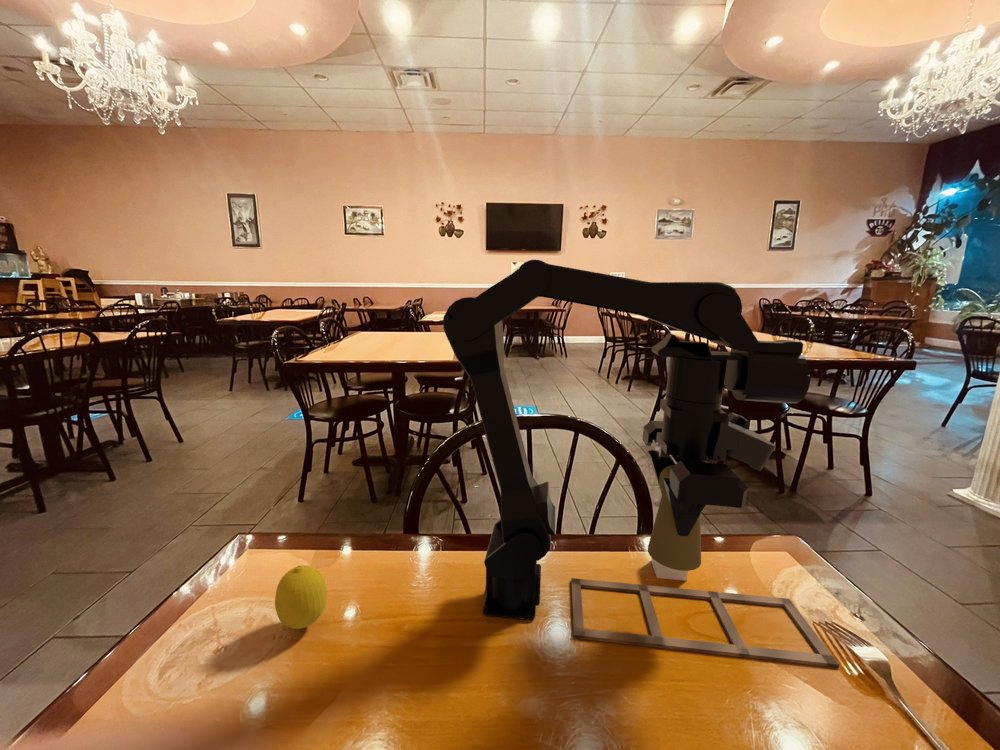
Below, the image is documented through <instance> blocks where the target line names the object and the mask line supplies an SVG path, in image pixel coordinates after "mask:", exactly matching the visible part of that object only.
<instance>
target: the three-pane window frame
mask: <svg viewBox="0 0 1000 750" xmlns="http://www.w3.org/2000/svg"><path fill="white" fill-rule="evenodd" d="M570 580H571V583H570V584H571V602H572V603H571V605H572V607H571V608H572V624H573V625H572V626H573V628H572V629H573V638H574V639H579V640H587V641H588V640H589V641H597V642H604V643H605V642H606V643H607V642H608V643H616V644H622V645H623V644H625V645H631V646H632V645H633V646H641V647H642V646H643V647H650V648H651V647H652V648H659V649H670V650H675V651H676V650H677V651H685V652H695V653H703V654H713V655H719V656H720V655H721V656H731V657H739V658H748V659H756V660H758V659H759V660H766V661H774V662H785V663H791V664H792V663H793V664H801V665H808V666H809V665H811V666H818V667H819V666H820V667H828V668H836V669H837V668H838V669H839V668H840V664H839V662H838V661H837V659H836V658H835V657H834V656H833V654H832V653H831V652H830V650H829V649H828V648H827V647H826V645H825V644H824V642H823V641H822V640H821V638H820V637H819V636H818V634H817V633H816V632H815V630H814V629H813V628H812V627H811V625H810V623H808V621H807V620H806V618H805V617H804V616H803V615H802V614H801V612H800V611H799V609H798V608H797V607H796V606H795V604H794V603H793V602H792V600H791V598H788V597H787V598H786V597H777V596H763V595H755V594H743V593H731V592H723V591H711V590H702V589H701V590H700V589H690V588H680V587H678V588H677V587H671V586H670V587H668V586H659V585H647V584H638V583H637V584H636V583H628V582H627V583H626V582H617V581H606V580H597V579H596V580H593V579H585V578H575V577H572V578H571V579H570ZM582 588H585V589H593V590H605V591H606V590H607V591H616V592H626V593H635V594H639V596H640V600H641V605H642V607H643V610H644V615H645V619H646V623H647V626H648V630H649V632H650V633H649V635H648V634H639V633H632V632H631V633H629V632H621V631H612V630H604V629H594V628H586V627H585V625H584V613H583V611H584V610H583V601H582V599H583V598H582ZM651 595H656V596H666V597H677V598H687V599H697V600H699V599H700V600H707V601H708V600H709V601H710V602H711V604H712V606H713V609H714V610H715V613H716V615H717V617H718V619H719V621H720V623H721V624H722V627H723V628H724V629H723V630H725V633H726V635H727V637H728V639H729V640H730V642H731V644H730V643H723V642H722V643H720V642H715V641H714V642H713V641H702V640H695V639H694V640H693V639H685V638H684V639H683V638H676V637H667V636H663V633H662V630H661V626H660V623H659V619H658V617H657V613H656V610H655V607H654V603H653V600H652V597H651ZM723 602H729V603H736V604H737V603H740V604H741V603H742V604H749V605H759V606H769V607H779V608H783V609H784V610H785V611H786V612H787V614H788V615H789V617H790V618H791V619H792V620H793V622H794V624H796V627H797V628H798V629H799V630H800V632H801V633H802V634H803V636H804V637H805V639H806V640H807V641H808V643H809V644H810V646H811V647H812V648H813V650H814V651H815V652H816V653H815V652H804V651H803V652H802V651H794V650H786V649H776V648H768V647H759V646H757V647H756V646H751V645H749V646H748V645H746V644H745V642H744V640H743V638H742V637H741V635H740V633H739V631H738V629H737V628H736V626H735V623H734V622H733V620H732V618H731V616H730V614H729V612H728V610H727V609H726V607H725V605H724V603H723Z"/></svg>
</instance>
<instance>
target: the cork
mask: <svg viewBox="0 0 1000 750" xmlns="http://www.w3.org/2000/svg"><path fill="white" fill-rule="evenodd" d="M673 466H674V465H671V466H668V467H666V468H665V469H664V470H663V471H662V472H661V474H660V477H659V485H658V486H660V488H659V490H660V489H661V491H662V494H661V498H660V501H659V505H658V508H657V512H656V516H655V520H654V523H653V527H652V531H651V535H650V538H649V542H648V546H647V552H648V555H649V556H650V558H651V559H652V558H653V559H654V560H655V561H656V562H658V563H660V564H661V565H663V566H666V567H668V568H671V569H675V570H681V571H688V572H690V571H694V570H697V569H698V568H700V567H701V564H702V531H701V530H702V528H701V526H702V523H701V515H700V516H699V518H698V519H697V521H696V523H695V525H694V527H693V528H692V530H691V532H690V534H689V535H688V536H679V535H678V533H677V530H676V526H675V523H674V519H673V515H672V511H671V507H670V503H669V500H668V496H667V492H666V488H665V485H664V481H663V478H670V469H671V467H673ZM661 491H660V492H661Z"/></svg>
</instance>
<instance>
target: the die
mask: <svg viewBox="0 0 1000 750" xmlns="http://www.w3.org/2000/svg"><path fill="white" fill-rule="evenodd" d="M650 561H651V563H652V567H653V570H654V573H655V576H656V578H657V579H664V580H665V579H666V580H675V581H684V582H686V581H688V573H689V571H681V570H675V569H671V568H668V567H666V566H663V565H661V564H660V563H658V562H656V561H655V560H654V559H653V558H652V557H651V560H650Z"/></svg>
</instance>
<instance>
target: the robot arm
mask: <svg viewBox="0 0 1000 750" xmlns="http://www.w3.org/2000/svg"><path fill="white" fill-rule="evenodd" d="M537 298H547V299H552V300H557V301H563V302H569V303H573V304H579V305H582V306H583V305H584V306H590V307H595V308H600V309H605V310H611V311H617V312H622V313H627V314H632V315H638V316H640V317H642V318H646V319H648V320H651V321H653V322H656V323H659V324H661V325H664V326H666V327H669V328H672V329H674V330H677V331H680V332H682V333H686V334H688V335H692V336H695V337H698V338H702V339H705V340H708V341H709V342H711V343H713V344H717V345H719V346H722V347H726V348H729V349H730V351H718V350H717V351H715V350H711V348H710V346H709V344H708V343H706V342H705V341H689V340H688V341H687V340H686V341H685V340H679V339H678V338H677V336H676V334H673V333H667V334H666V336H665V337H664V338H663V339H661V340H660V341H659V342H658V343H656V344H655V345H653V346H652V347H651V352H653V353H654V354H655V355H657V356H659V357H663V358H669V363H668V371H667V372H668V373H667V380H666V381H667V382H666V390H665V397H664V398H660V402H659V408H660V409H661V410H662V411H663V418H662V420H650V421H649V422H647V423H646V424H645V425H643V431H642V442H643V444H645V446H647V447H651V446H652V444H653V441H654V443H655V447H654V450H652V449H651V450H648V451H647V454H648V457H649V459H650V462H651V465H652V469H653V471H654V475H655V478H656V481H657V482H656V483H657V484H658V486H659V477H660V474H661V472H662V471H663V470H664V469H665V468H666V467H668V466H671V465H674V466H673V467H671V469H670V478H663V481H664V485H665V488H666V492H667V496H668V500H669V503H670V507H671V511H672V515H673V519H674V523H675V526H676V530H677V533H678V535H679V536H688V535H689V534H690V532H691V530H692V528H693V527H694V525H695V523H696V521H697V519H698V518H699V516H700V517H701V514H702V512H703V511H704V509H705V507H706V506H715V507H716V506H717V507H726V508H736V509H737V508H739V509H742V508H743V507H746V502H747V497H748V489H749V487H748V486H747V485H746V484H745V483H744V482H743V480H741V478H740V477H739V476H738V475H737V474H736V473H735V471H733V470H732V469H731V468H730V467H729V466H728V465H727V464H726V463H715V462H708V459H713V460H715V461H724V462H725V461H726V457H727V456H728V457H730V458H732V459H735V460H737V461H739V462H741V463H745V464H747V465H749V466H750V468H752V469H754V470H757V471H760V472H761V471H762V470H763V468H764V467H765V464H766V463H767V461H768V460H769V458H770V456H771V454H772V453H773V452H774V450H775V448H776V445H775V444H774V443H773V442H770V441H769V440H768V439H767V438H765V437H764V436H762V435H760V434H759V433H757V432H755V431H754V430H752V429H749V420H748V419H746V418H745V417H743V416H742V415H740V414H737V413H735V412H730V413H727V412H726V411H725V410H723V409H722V407H721V406H722V400H723V392H724V387H725V389H726V390H727V391H731V393H732V396H733V397H734V398H735V399H736V400H737V401H745V402H746V401H749V402H761V403H762V402H764V403H780V404H781V403H782V404H795V405H796V404H798V403H800V402H801V401H803V400H804V398H805V397H806V396H807V393H808V391H809V389H810V384H811V380H812V378H811V377H812V376H811V375H810V374H809V373H810V372H809V371H810V370H809V364H808V361H807V359H806V357H805V356H804V354H803V349H804V343H803V342H802V341H797V340H794V339H793V340H792V339H778V340H758V338H757V337H756V335H755V333H754V332H753V330H752V329H751V327H750V326H749V324H748V323H747V321H746V319H745V317H744V316H743V315H742V314H743V313H742V312H743V304H742V299H741V297H740V296H739V294H738V291H737V290H736V289H735V288H734V287H733V286H731V285H729V284H728V283H727V284H726V283H723V282H719V281H718V282H717V281H716V282H715V281H676V282H675V281H674V282H671V281H670V282H665V281H664V282H662V281H661V282H660V281H659V282H657V281H656V282H655V281H646V280H639V279H635V278H628V277H623V276H617V275H612V274H606V273H600V272H595V271H590V270H583V269H578V268H573V267H569V266H568V267H567V266H562V265H555V264H550V263H547V262H545V261H543V260H541V259H529V260H527V261H525V262H524V263H522V264H521V265H520V266H519V268H518V269H516V270H515V271H513V272H512V273H511V274H509V275H508V276H506V277H504V278H503V279H501V280H500V281H498V282H497V283H495V284H493V285H492V286H490V287H488V288H487V289H485V290H484V291H483V292H482V293H480V294H479V295H477V296H469V297H462V298H459V299H456V300H454V302H452V304H451V305H449V306H448V308H447V310H446V312H445V313H444V315H443V318H442V326H443V331H444V334H445V337H446V338H447V341H448V343H449V344H450V347H451V349H452V351H453V354H454V356H455V359H457V361H458V363H459V364H460V365H461V367H462V369H463V370H464V372H465V373H466V375H468V377H469V380H470V382H471V385H472V386H471V387H472V389H473V393H474V398H475V399H476V400H475V401H476V403H477V404H476V405H477V408H478V411H479V416H480V419H481V422H482V425H483V430H484V434H485V437H486V438H485V439H486V441H487V444H488V448H489V453H490V456H491V458H492V459H491V461H492V463H493V468H494V470H495V475H496V478H497V482H498V485H499V490H500V519H499V520H497V521H496V522H495V523H494V525H493V527H492V533H491V536H490V540H489V543H488V546H487V550H486V554H485V557H484V561H483V564H484V566H485V599H484V603H483V606H482V607H483V608H482V614H483V615H485V616H492V617H499V618H500V617H502V618H509V619H510V618H511V619H519V620H530V621H531V620H532V621H533V620H535V618H536V610H537V608H536V607H538V606H540V602H541V601H540V600H541V580H542V565H541V564H540V563H537V562H538V561H541V559H543V558H545V557H546V555H547V554H548V552H550V550H551V543H552V537H555V535H556V506H555V505H554V503H553V501H552V500H551V496H550V484H549V482H548V481H545V482H543V483H540V484H539V483H538V482H537V480H536V479H535V477H534V476H533V475H532V471H531V468H530V465H529V461H528V457H527V453H526V448H525V444H524V441H523V438H522V433H521V429H520V425H519V421H518V418H517V414H516V413H517V412H516V411H515V406H514V401H513V398H512V395H511V390H510V386H509V382H508V379H507V378H508V377H507V374H506V371H505V340H504V328H503V327H504V326H503V322H504V321H506V320H507V319H509V318H510V317H512V316H513V315H515V314H516V313H517V312H518V311H521V309H523V308H525V307H526V306H527V305H528V304H530V303H532V302H533V301H534V300H535V299H537ZM659 491H660V494H661V495H662V491H661V489H660V486H659Z"/></svg>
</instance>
